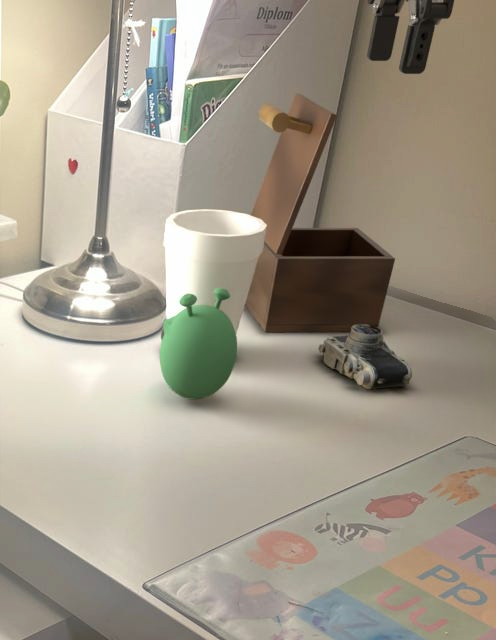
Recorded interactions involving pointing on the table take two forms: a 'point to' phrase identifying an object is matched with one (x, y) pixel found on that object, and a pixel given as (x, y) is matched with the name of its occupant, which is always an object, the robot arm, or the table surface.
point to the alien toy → (198, 348)
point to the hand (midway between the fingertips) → (393, 66)
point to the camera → (366, 358)
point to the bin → (320, 282)
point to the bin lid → (290, 165)
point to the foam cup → (212, 258)
